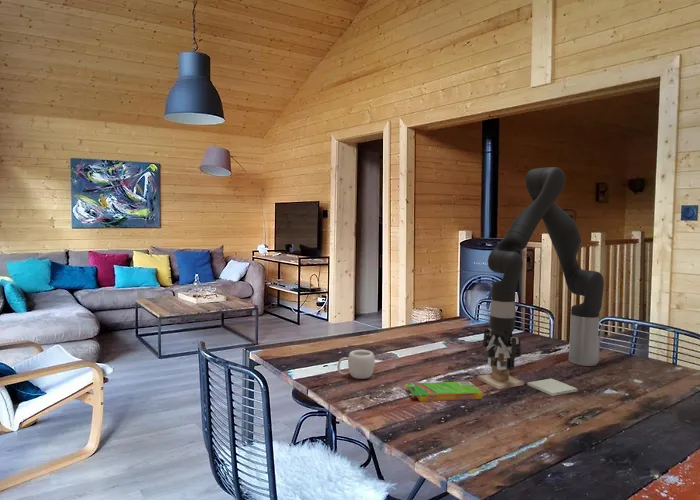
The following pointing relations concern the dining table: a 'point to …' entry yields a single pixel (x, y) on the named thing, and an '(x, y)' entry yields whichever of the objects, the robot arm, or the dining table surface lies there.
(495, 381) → the post stand
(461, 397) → the game box
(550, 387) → the coaster
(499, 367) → the c link
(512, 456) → the dining table surface
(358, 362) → the mug
